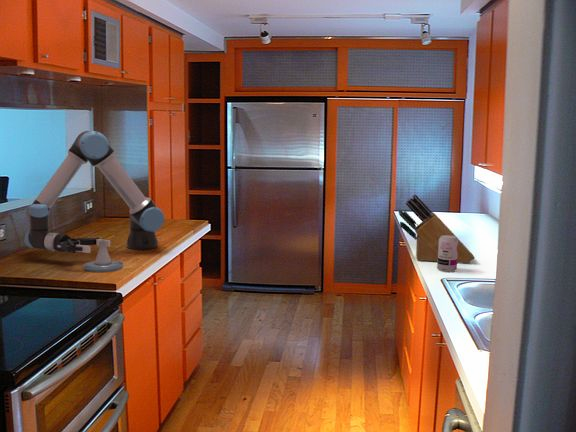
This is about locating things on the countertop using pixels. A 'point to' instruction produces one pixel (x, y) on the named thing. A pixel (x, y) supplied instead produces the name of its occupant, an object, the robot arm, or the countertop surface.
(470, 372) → the countertop surface
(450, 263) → the supplement can
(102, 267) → the dish
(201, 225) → the countertop surface
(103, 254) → the flask
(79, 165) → the robot arm
